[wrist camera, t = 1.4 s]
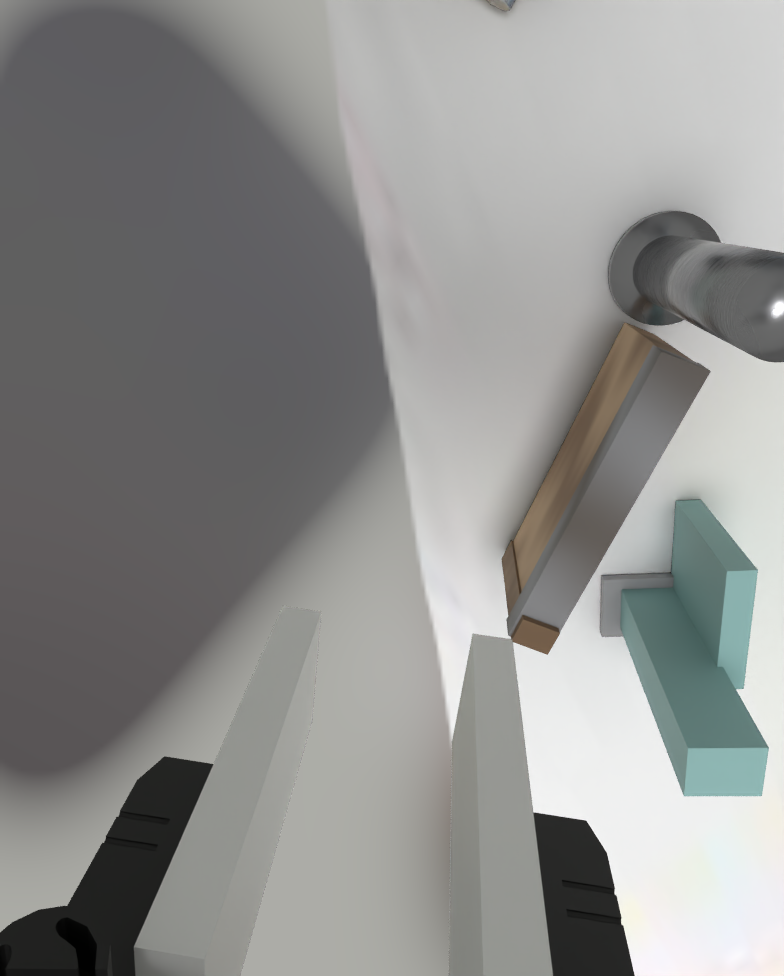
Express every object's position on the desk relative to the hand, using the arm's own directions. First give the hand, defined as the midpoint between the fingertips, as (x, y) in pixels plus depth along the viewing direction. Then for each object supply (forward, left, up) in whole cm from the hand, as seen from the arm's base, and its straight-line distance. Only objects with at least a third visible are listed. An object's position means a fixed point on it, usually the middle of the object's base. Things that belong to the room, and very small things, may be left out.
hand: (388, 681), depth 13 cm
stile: (+7, +9, -17) cm, 20 cm away
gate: (+1, +6, -16) cm, 17 cm away
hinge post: (-5, +9, -17) cm, 20 cm away
